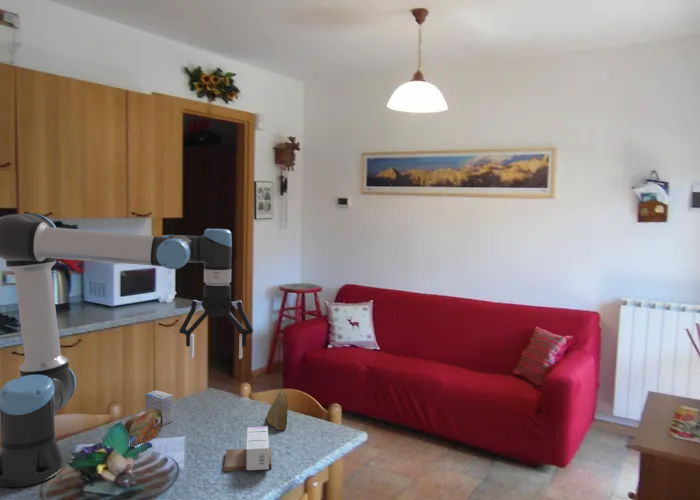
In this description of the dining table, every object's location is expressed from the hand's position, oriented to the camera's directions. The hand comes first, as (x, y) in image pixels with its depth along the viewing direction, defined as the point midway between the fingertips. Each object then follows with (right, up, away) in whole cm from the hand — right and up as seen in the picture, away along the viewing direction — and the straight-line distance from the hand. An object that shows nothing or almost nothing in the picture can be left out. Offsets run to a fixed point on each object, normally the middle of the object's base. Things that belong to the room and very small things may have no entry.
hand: (216, 357), depth 158 cm
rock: (+15, -24, +15) cm, 32 cm away
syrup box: (+15, -22, -18) cm, 32 cm away
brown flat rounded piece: (-21, -24, +1) cm, 32 cm away
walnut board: (+11, -26, -10) cm, 30 cm away
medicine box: (-21, -23, +16) cm, 35 cm away
